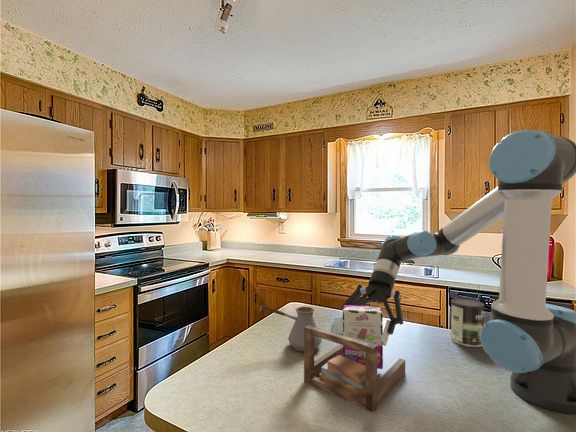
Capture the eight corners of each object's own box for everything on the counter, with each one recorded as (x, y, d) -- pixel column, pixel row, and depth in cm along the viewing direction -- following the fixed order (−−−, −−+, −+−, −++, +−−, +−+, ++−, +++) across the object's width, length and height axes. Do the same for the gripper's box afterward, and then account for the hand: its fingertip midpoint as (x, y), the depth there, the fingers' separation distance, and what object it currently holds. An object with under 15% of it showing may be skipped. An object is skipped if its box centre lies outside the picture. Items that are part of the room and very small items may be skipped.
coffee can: (487, 341, 111) (488, 302, 111) (477, 350, 105) (478, 308, 104) (457, 333, 119) (457, 296, 119) (445, 340, 112) (446, 301, 112)
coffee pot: (317, 338, 113) (317, 297, 113) (325, 353, 102) (326, 307, 101) (258, 342, 110) (258, 300, 110) (260, 357, 99) (260, 310, 98)
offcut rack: (405, 374, 89) (406, 322, 89) (373, 412, 72) (373, 348, 72) (344, 353, 102) (344, 307, 102) (303, 381, 85) (304, 327, 85)
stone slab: (329, 340, 116) (357, 339, 113) (328, 333, 116) (356, 332, 114) (333, 320, 137) (356, 319, 135) (332, 314, 137) (355, 313, 135)
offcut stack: (377, 389, 81) (377, 366, 81) (366, 402, 76) (366, 377, 76) (331, 371, 90) (331, 351, 90) (318, 381, 85) (318, 359, 85)
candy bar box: (381, 360, 92) (382, 306, 91) (383, 370, 87) (383, 312, 86) (343, 356, 95) (343, 303, 94) (342, 365, 90) (342, 309, 89)
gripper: (424, 288, 96) (407, 355, 85) (354, 278, 112) (331, 333, 100) (419, 274, 92) (400, 342, 81) (347, 265, 108) (322, 321, 96)
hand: (362, 337), depth 90 cm, fingers closed on candy bar box, 12 cm apart
